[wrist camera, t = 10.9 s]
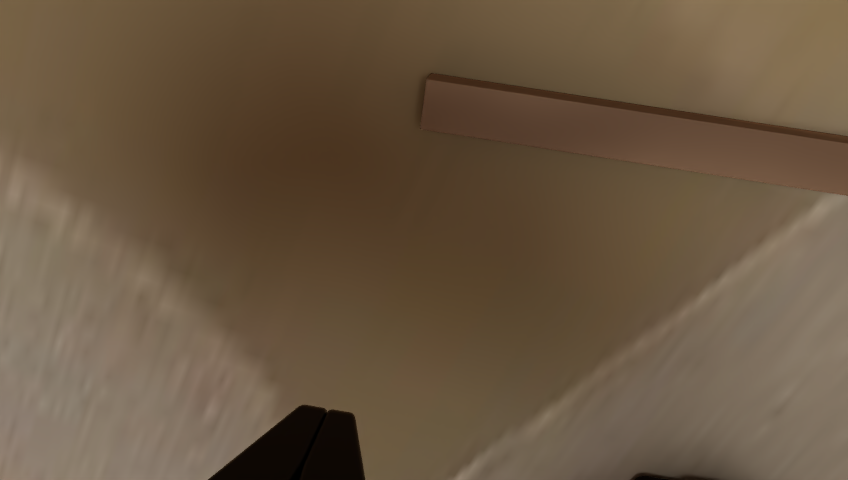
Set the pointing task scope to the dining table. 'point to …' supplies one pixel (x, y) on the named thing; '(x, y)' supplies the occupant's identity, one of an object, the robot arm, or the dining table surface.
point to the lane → (636, 133)
